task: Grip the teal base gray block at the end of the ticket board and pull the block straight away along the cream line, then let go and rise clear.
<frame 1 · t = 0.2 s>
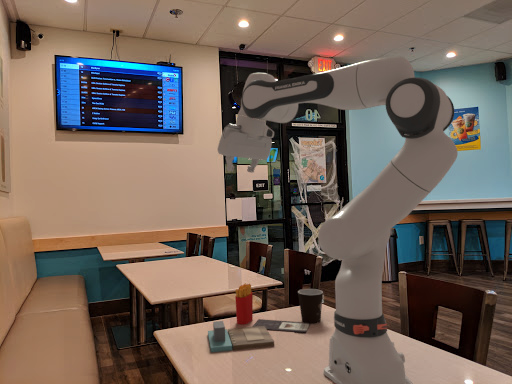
hand: (240, 171, 118), 52 cm above the table, tool tilted 20°, fingers open, 8 cm apart
chocolate bar: (280, 328, 127), on the table
french fries: (244, 322, 133), on the table
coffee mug: (313, 320, 133), on the table
teal base gray block: (219, 333, 114), point 3 cm above the table, slide at 0.0 cm
ticket board: (249, 339, 116), on the table
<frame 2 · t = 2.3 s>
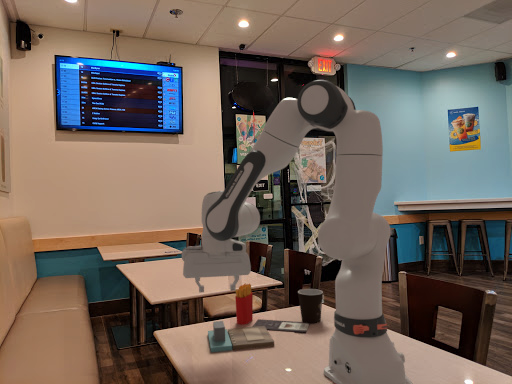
hand: (217, 291, 115), 15 cm above the table, tool pointing down, fingers open, 8 cm apart
nothing on the table moved.
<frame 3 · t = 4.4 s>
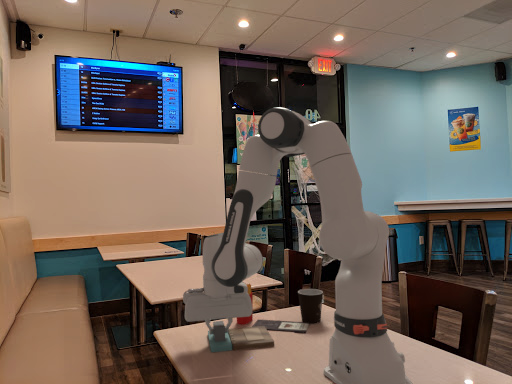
hand: (219, 333, 114), 3 cm above the table, tool pointing down, fingers closed on teal base gray block, 3 cm apart
teal base gray block: (219, 333, 114), point 3 cm above the table, slide at 0.0 cm, touching gripper
everything else where it was.
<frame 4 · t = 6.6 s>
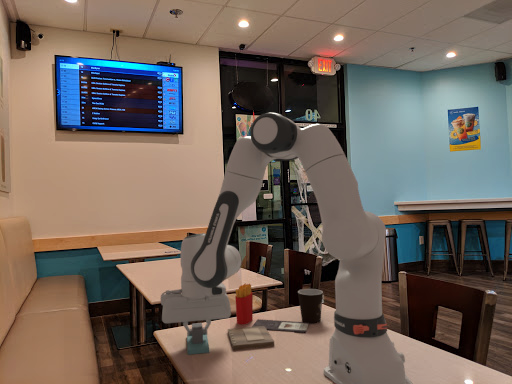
hand: (197, 334, 113), 3 cm above the table, tool pointing down, fingers closed on teal base gray block, 3 cm apart
teal base gray block: (197, 335, 113), point 3 cm above the table, slide at 6.5 cm, touching gripper
everything else where it was.
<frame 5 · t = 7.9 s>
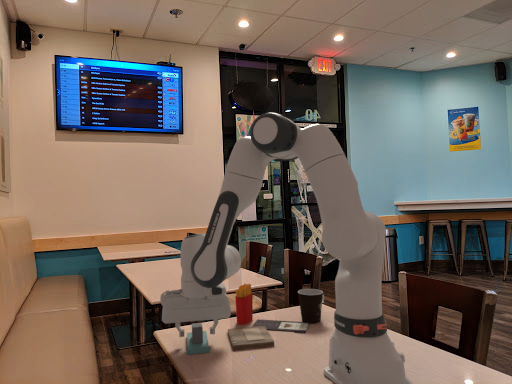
hand: (197, 335, 113), 3 cm above the table, tool pointing down, fingers open, 8 cm apart
teal base gray block: (197, 335, 113), point 3 cm above the table, slide at 6.5 cm
everything else where it was.
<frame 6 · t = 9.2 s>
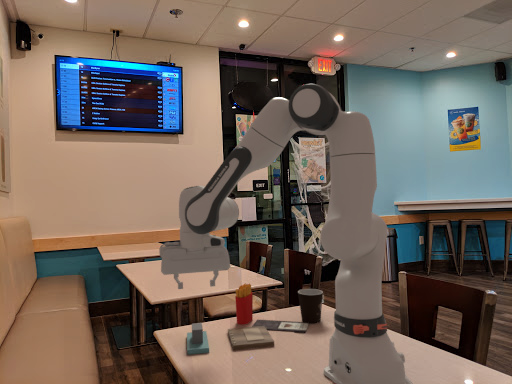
hand: (196, 287, 113), 17 cm above the table, tool pointing down, fingers open, 8 cm apart
nothing on the table moved.
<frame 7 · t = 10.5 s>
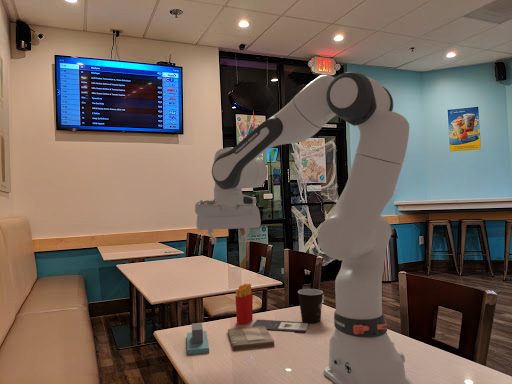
hand: (229, 243, 120), 29 cm above the table, tool pointing down, fingers open, 8 cm apart
nothing on the table moved.
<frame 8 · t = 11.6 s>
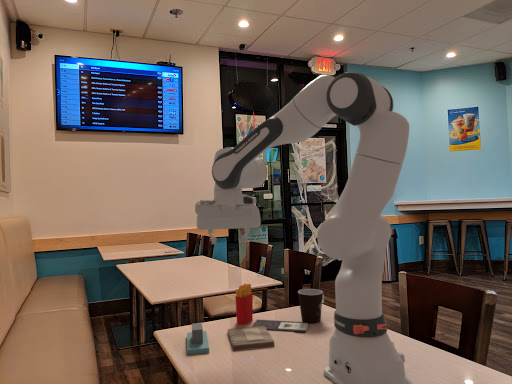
hand: (229, 243, 120), 29 cm above the table, tool pointing down, fingers open, 8 cm apart
nothing on the table moved.
at the end: teal base gray block slide at 6.5 cm; the gripper is holding nothing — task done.
